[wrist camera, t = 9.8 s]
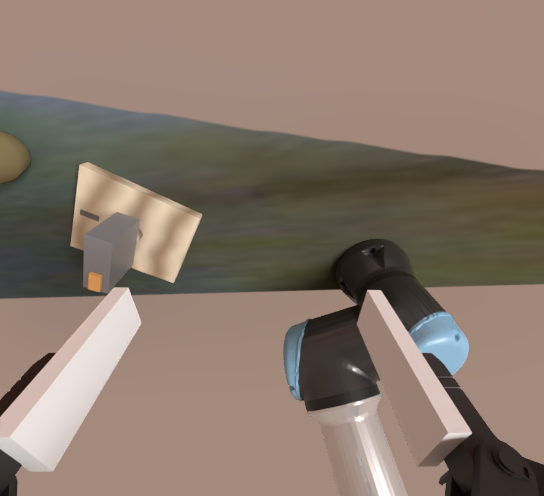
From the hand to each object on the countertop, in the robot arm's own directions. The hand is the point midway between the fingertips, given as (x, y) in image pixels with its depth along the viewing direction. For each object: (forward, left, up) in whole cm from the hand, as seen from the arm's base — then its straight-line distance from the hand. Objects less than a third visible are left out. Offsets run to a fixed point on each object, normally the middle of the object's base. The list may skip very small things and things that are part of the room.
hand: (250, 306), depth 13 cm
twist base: (+16, +20, -31) cm, 41 cm away
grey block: (+16, +20, -26) cm, 37 cm away
